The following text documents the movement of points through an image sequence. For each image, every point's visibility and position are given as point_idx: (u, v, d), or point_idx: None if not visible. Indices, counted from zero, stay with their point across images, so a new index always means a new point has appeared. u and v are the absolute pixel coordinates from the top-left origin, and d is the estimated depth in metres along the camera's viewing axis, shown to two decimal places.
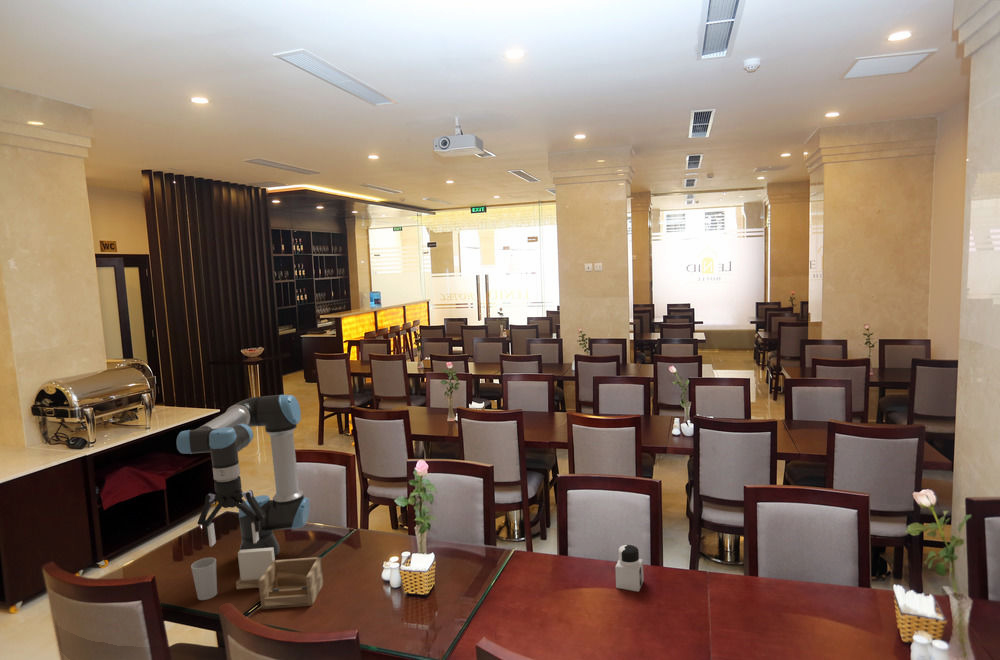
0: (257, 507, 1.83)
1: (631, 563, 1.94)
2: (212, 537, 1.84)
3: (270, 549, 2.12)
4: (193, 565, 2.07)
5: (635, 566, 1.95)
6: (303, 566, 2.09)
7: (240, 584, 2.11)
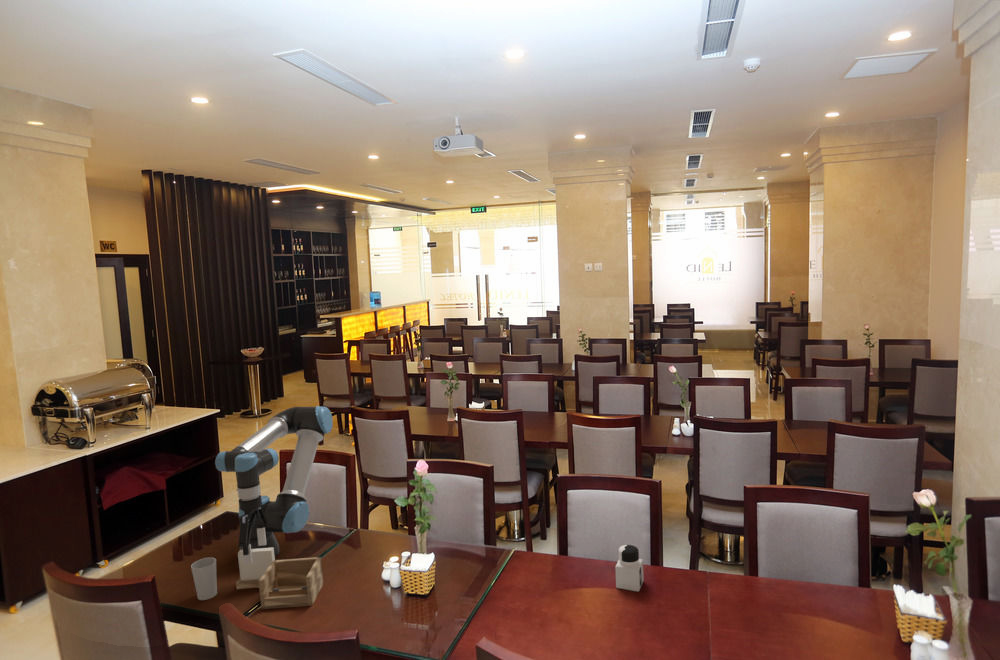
0: (240, 534, 2.03)
1: (631, 563, 1.94)
2: (260, 539, 2.19)
3: (270, 549, 2.12)
4: (193, 565, 2.07)
5: (635, 566, 1.95)
6: (303, 566, 2.09)
7: (240, 584, 2.11)
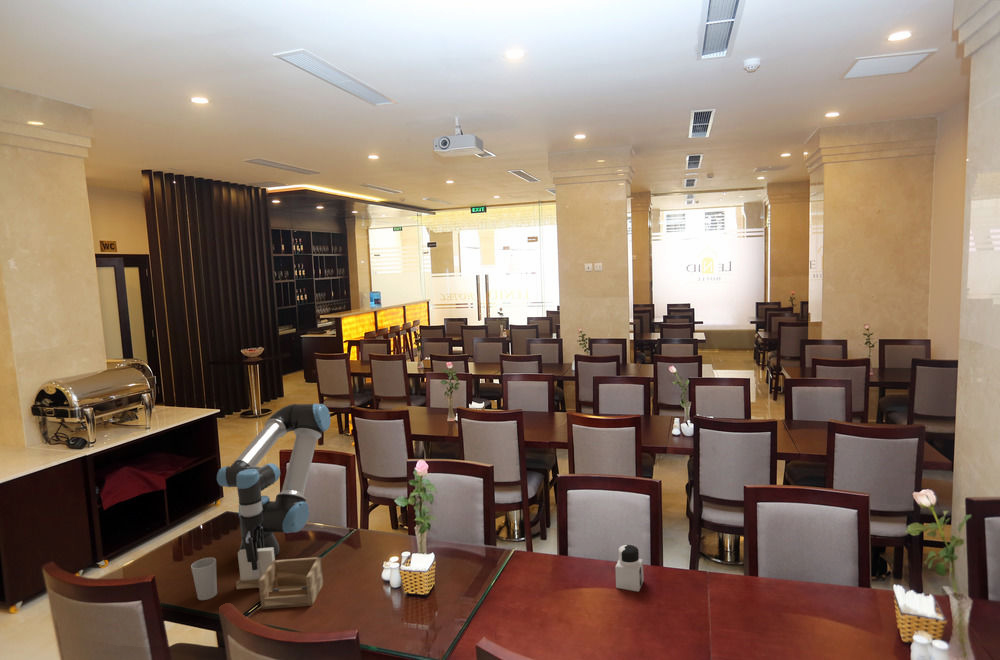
0: (247, 552, 2.07)
1: (631, 563, 1.94)
2: None
3: (270, 549, 2.12)
4: (193, 565, 2.07)
5: (635, 566, 1.95)
6: (303, 566, 2.09)
7: (240, 584, 2.11)
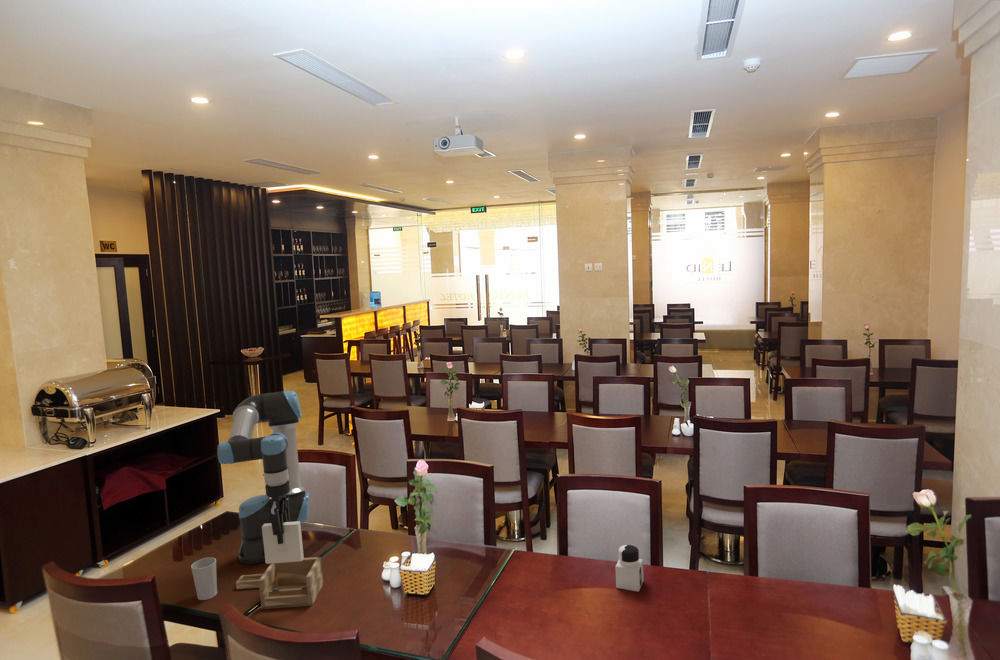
0: (272, 524, 1.92)
1: (631, 563, 1.94)
2: None
3: (297, 523, 1.97)
4: (193, 565, 2.07)
5: (635, 566, 1.95)
6: (303, 566, 2.09)
7: (240, 584, 2.11)
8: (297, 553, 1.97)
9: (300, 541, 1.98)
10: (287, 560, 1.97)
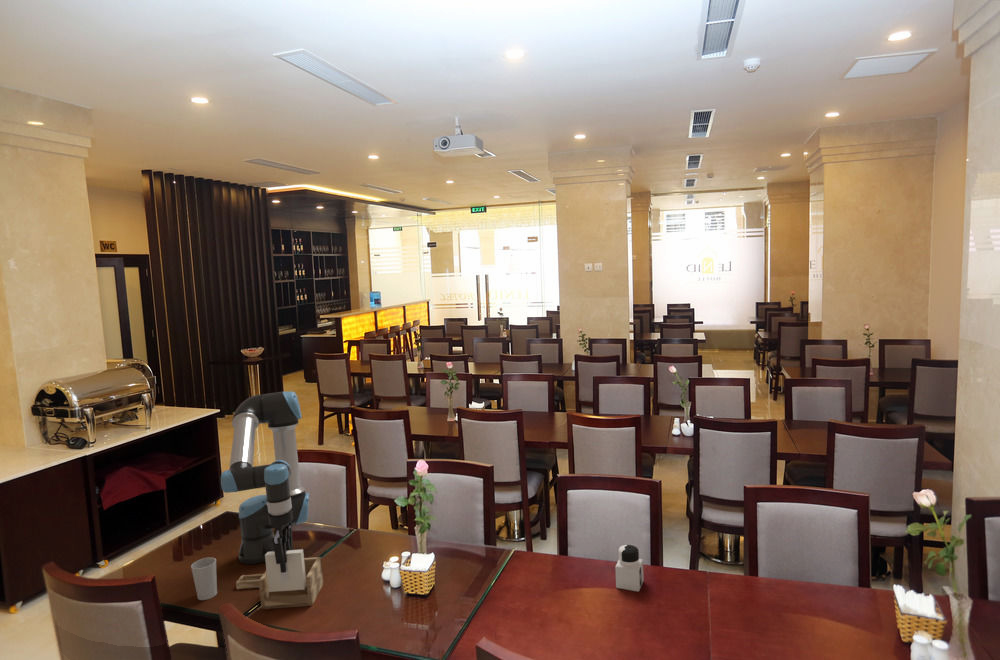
0: (275, 553, 1.93)
1: (631, 563, 1.94)
2: None
3: (299, 551, 1.98)
4: (193, 565, 2.07)
5: (635, 566, 1.95)
6: None
7: (240, 584, 2.11)
8: (300, 581, 1.98)
9: (303, 569, 1.99)
10: (290, 588, 1.98)
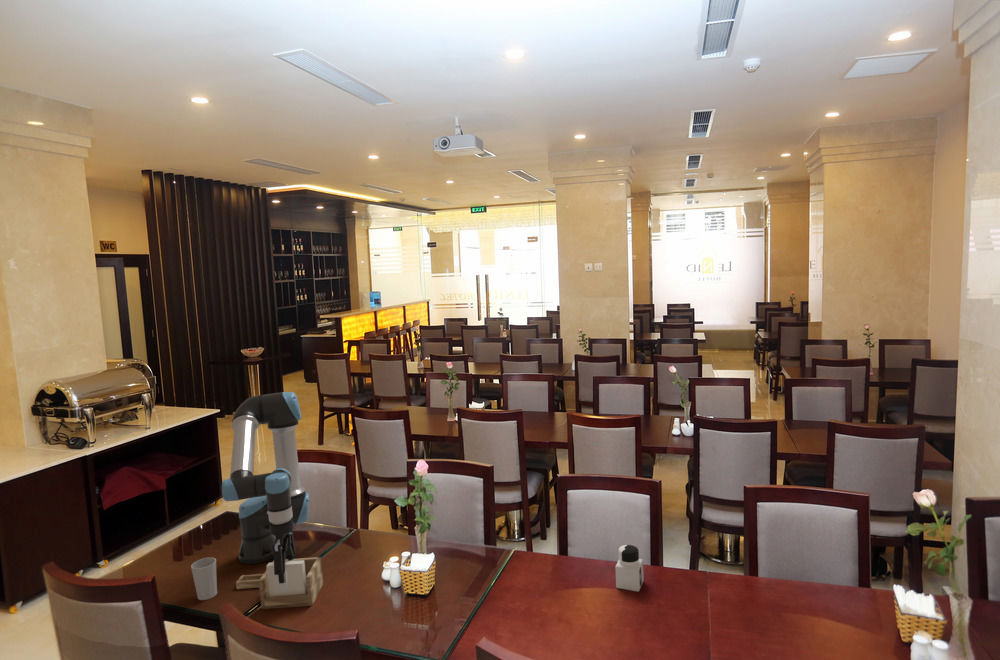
0: (275, 562, 1.92)
1: (631, 563, 1.94)
2: None
3: (301, 562, 1.99)
4: (193, 565, 2.07)
5: (635, 566, 1.95)
6: None
7: (240, 584, 2.11)
8: (301, 592, 1.99)
9: (304, 580, 1.99)
10: None
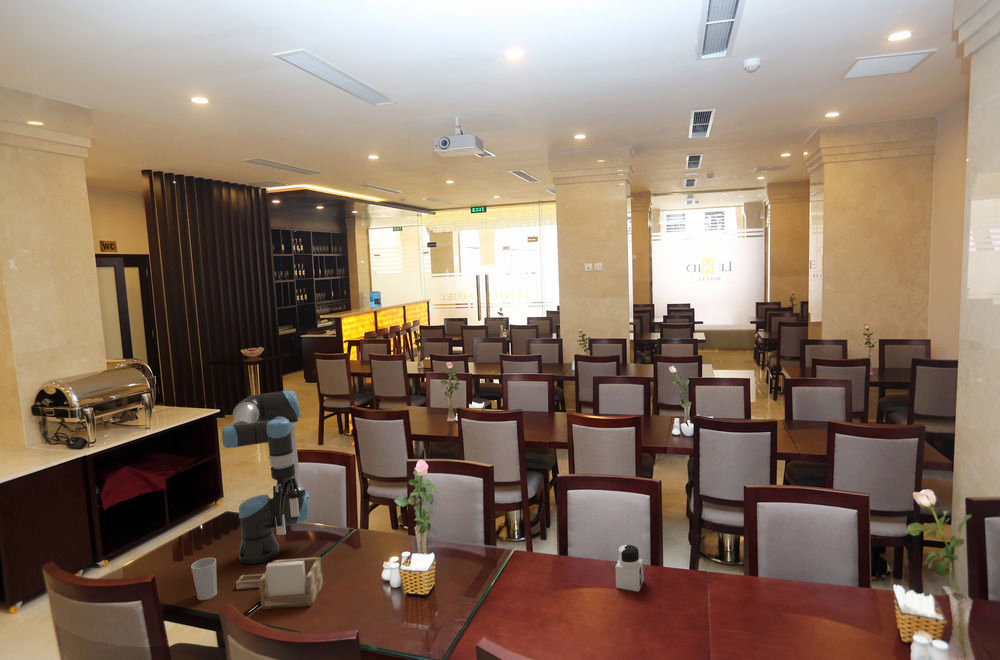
0: (273, 503, 1.91)
1: (631, 563, 1.94)
2: (292, 510, 2.07)
3: (300, 562, 1.99)
4: (193, 565, 2.07)
5: (635, 566, 1.95)
6: None
7: (240, 584, 2.11)
8: (301, 592, 1.99)
9: (304, 580, 1.99)
10: None
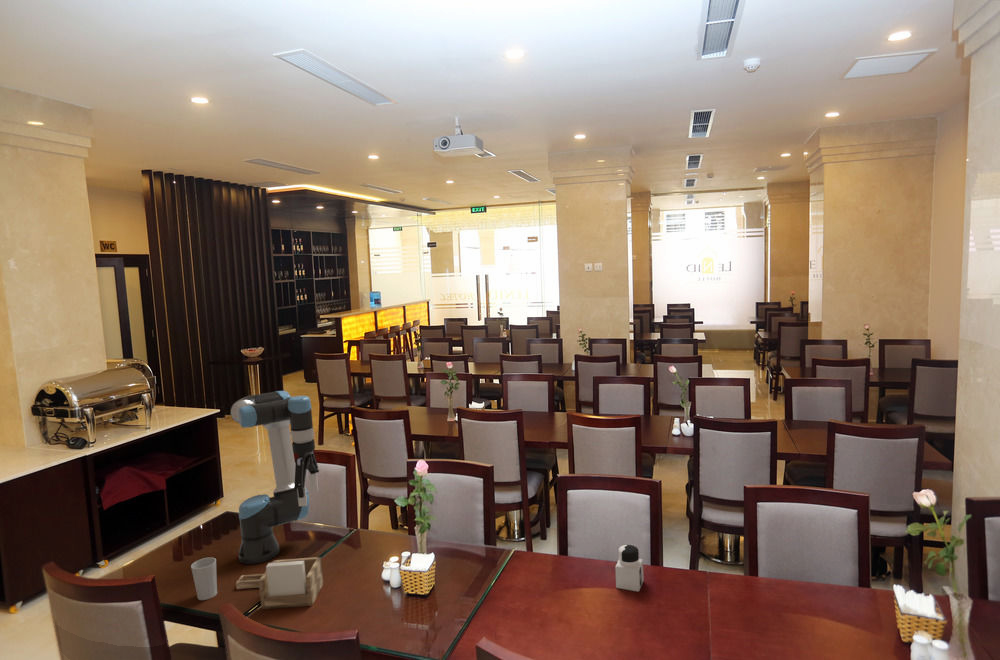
0: (296, 476, 2.00)
1: (631, 563, 1.94)
2: (312, 484, 2.15)
3: (300, 562, 1.99)
4: (193, 565, 2.07)
5: (635, 566, 1.95)
6: None
7: (240, 584, 2.11)
8: (301, 592, 1.99)
9: (304, 580, 1.99)
10: None
